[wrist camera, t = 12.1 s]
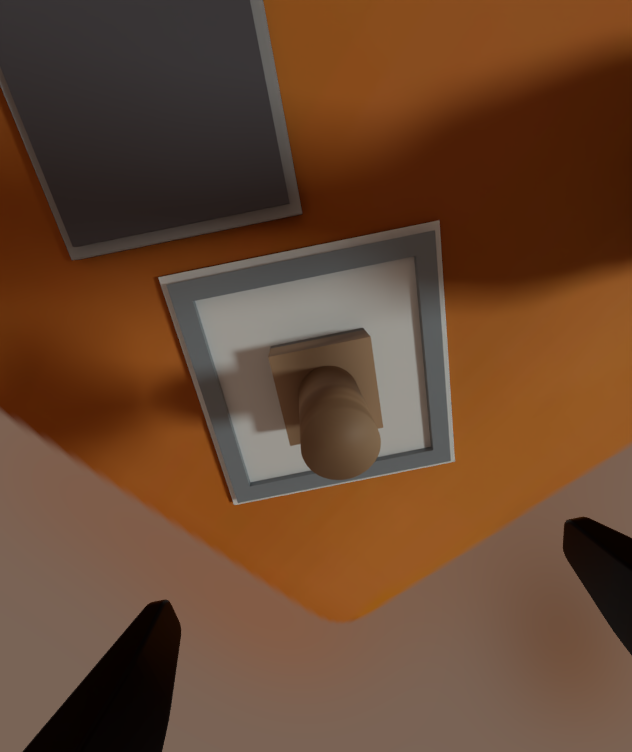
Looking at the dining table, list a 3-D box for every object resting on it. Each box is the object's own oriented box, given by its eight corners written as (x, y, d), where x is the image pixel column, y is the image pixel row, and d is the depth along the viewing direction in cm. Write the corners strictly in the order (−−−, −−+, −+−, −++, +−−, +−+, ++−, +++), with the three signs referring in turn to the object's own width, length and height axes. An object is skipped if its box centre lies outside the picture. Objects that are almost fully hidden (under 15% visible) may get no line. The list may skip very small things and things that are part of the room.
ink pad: (243, -102, 13) (239, -128, 12) (302, 214, 17) (302, 212, 16) (-43, -42, 14) (-68, -63, 13) (78, 259, 17) (66, 260, 16)
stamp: (362, 327, 19) (400, 370, 12) (375, 411, 21) (413, 487, 14) (270, 346, 19) (259, 398, 12) (290, 427, 21) (289, 512, 14)
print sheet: (437, 220, 18) (442, 219, 17) (452, 458, 23) (457, 465, 22) (160, 276, 18) (155, 278, 17) (234, 501, 23) (233, 509, 22)
